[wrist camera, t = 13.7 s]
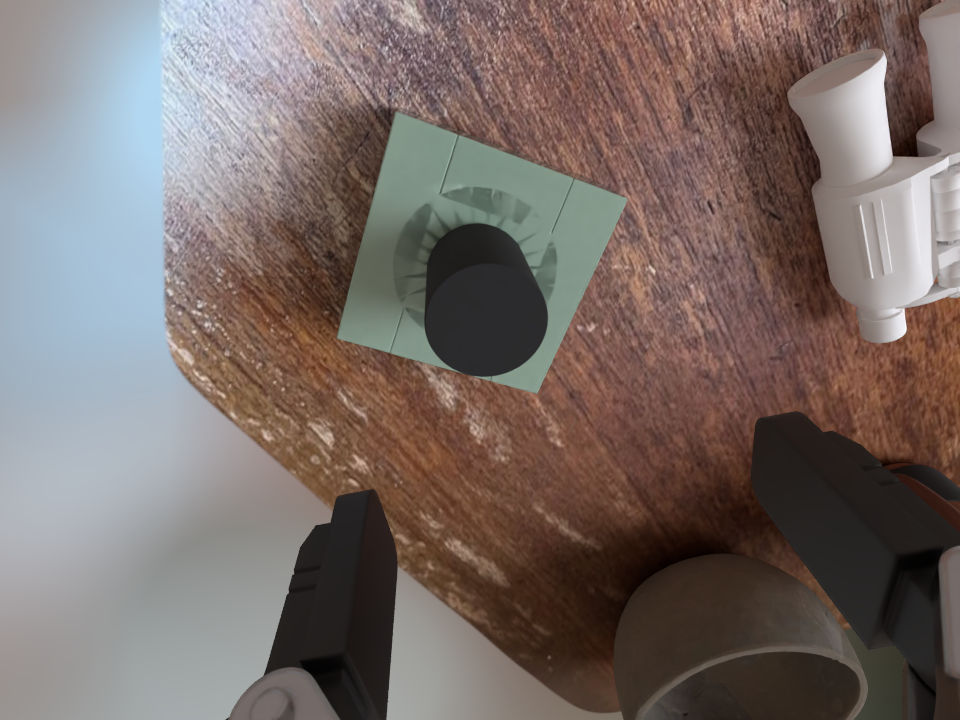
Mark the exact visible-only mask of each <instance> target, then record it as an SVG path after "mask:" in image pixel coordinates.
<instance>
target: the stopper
mask: <svg viewBox="0 0 960 720" xmlns="http://www.w3.org/2000/svg"><path fill="white" fill-rule="evenodd" d="M424 326H425V333H426V337H427V340H428V342H429V344H430V346H431V348H432V350H433V351H434V353H435V354H436V355H437V356H438V358H439V359H440V360H441V361H443V362H444V363H445V364H446V365H448V366H449V367H451V368H452V369H454V370H456V371H458V372H461V373H464V374H467V375H471V376H478V377H491V376H497V375H501V374H505V373H508V372H510V371H513V370H514V369H516V368H518V367H520V366H521V365H523V364H524V363H525V362H527V361H528V360H529V359H530V358H531V357H532V356H533V355H534V354H535V353H536V351H537V350H538V348H539V347H540V345H541V343H542V341H543V339H544V337H545V334H546V330H547V326H548V310H547V305H546V301H545V299H544V296H543V294H542V292H541V290H540V288H539V286H538V284H537V281H536V279H535V277H534V275H533V273H532V271H531V269H530V267H529V265H528V263H527V261H526V259H525V257H524V255H523V252H522V250H521V249H520V247H519V245H518V244H517V242H516V241H515V240H514V239H513V238H512V237H511V236H510V235H509V234H508V233H506V232H505V231H503V230H501V229H500V228H497V227H495V226H492V225H488V224H481V223H473V224H467V225H463V226H460V227H457V228H455V229H453V230H451V231H450V232H448V233H447V234H445V235H444V236H443V237H442V238H441V239H440V240H439V241H438V242H437V244H436V245H435V246H434V248H433V250H432V251H431V254H430V256H429V259H428V263H427V274H426V294H425V315H424Z"/></svg>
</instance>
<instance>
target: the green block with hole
mask: <svg viewBox="0 0 960 720" xmlns="http://www.w3.org/2000/svg"><path fill="white" fill-rule="evenodd" d="M626 202H627V198H626V197H624V196H623V195H621V194H620V193H618V192H617V191H615V190H614V189H612V188H611V187H608V186H605V185H603V184H600V183H597V182H595V181H592V180H590V179H587V178H584V177H582V176H579V175H576V174H574V173H571V172H568V171H566V170H562V169H560V168H558V167H555V166H552V165H550V164H547V163H545V162H542V161H539V160H537V159H534V158H531V157H529V156H526V155H523V154H521V153H518V152H515V151H513V150H510V149H508V148H505V147H502V146H500V145H497V144H494V143H492V142H489V141H486V140H484V139H481V138H479V137H476V136H473V135H471V134H468V133H465V132H463V131H460V130H456V129H455V128H452V127H449V126H447V125H444V124H441V123H439V122H436V121H434V120H431V119H428V118H426V117H423V116H420V115H418V114H415V113H412V112H410V111H407V110H405V109H402V108H399V109H398V110H397V111H396V112H395V114H394V118H393V122H392V126H391V130H390V133H389V137H388V141H387V145H386V149H385V153H384V156H383V160H382V164H381V168H380V172H379V176H378V179H377V183H376V187H375V191H374V195H373V199H372V202H371V206H370V210H369V214H368V218H367V222H366V226H365V229H364V233H363V237H362V241H361V245H360V249H359V252H358V256H357V260H356V264H355V268H354V272H353V275H352V279H351V283H350V287H349V291H348V295H347V299H346V302H345V306H344V310H343V314H342V318H341V322H340V325H339V329H338V333H337V339H341V340H344V341H348V342H351V343H355V344H359V345H362V346H366V347H370V348H373V349H377V350H380V351H384V352H388V353H389V352H390V353H391V354H394V355H398V356H401V357H405V358H409V359H412V360H416V361H419V362H423V363H427V364H430V365H434V366H438V367H441V368H445V369H449V370H452V371H456V370H454V369H452V368H451V367H449V366H448V365H446V364H445V363H444V362H443V361H441V360H440V359H439V358H438V356H437V355H436V354H435V353H434V351H433V350H432V348H431V346H430V344H429V342H428V340H427V337H426V333H425V326H424V315H425V294H426V274H427V263H428V259H429V256H430V254H431V251H432V250H433V248H434V246H435V245H436V244H437V242H438V241H439V240H440V239H441V238H442V237H443V236H444V235H445V234H447V233H448V232H450V231H451V230H453V229H455V228H457V227H460V226H463V225H467V224H473V223H481V224H488V225H492V226H495V227H497V228H500V229H501V230H503V231H505V232H506V233H508V234H509V235H510V236H511V237H512V238H513V239H514V240H515V241H516V242H517V244H518V245H519V247H520V249H521V250H522V252H523V255H524V257H525V259H526V261H527V263H528V265H529V267H530V269H531V271H532V273H533V275H534V277H535V279H536V281H537V284H538V286H539V288H540V290H541V292H542V294H543V296H544V299H545V301H546V305H547V310H548V326H547V330H546V334H545V337H544V339H543V341H542V343H541V345H540V347H539V348H538V350H537V351H536V353H535V354H534V355H533V356H532V357H531V358H530V359H529V360H528V361H527V362H525V363H524V364H523V365H521V366H520V367H518V368H516V369H514V370H513V371H510V372H508V373H505V374H501V375H497V376H491V377H478V376H474V377H478V378H481V379H485V380H489V381H492V382H496V383H500V384H503V385H507V386H510V387H514V388H518V389H521V390H525V391H529V392H532V393H536V394H537V393H538V391H539V388H540V386H541V384H542V382H543V380H544V378H545V376H546V373H547V371H548V369H549V367H550V365H551V363H552V361H553V358H554V356H555V354H556V352H557V350H558V348H559V346H560V343H561V341H562V339H563V337H564V335H565V333H566V331H567V328H568V326H569V324H570V322H571V320H572V318H573V316H574V313H575V311H576V309H577V307H578V305H579V303H580V301H581V298H582V296H583V294H584V292H585V290H586V288H587V285H588V283H589V281H590V279H591V277H592V275H593V273H594V270H595V268H596V266H597V264H598V262H599V260H600V258H601V255H602V253H603V251H604V249H605V247H606V245H607V243H608V240H609V238H610V236H611V234H612V232H613V230H614V228H615V225H616V223H617V221H618V219H619V217H620V215H621V213H622V210H623V208H624V206H625V204H626ZM456 372H458V371H456ZM459 373H461V372H459ZM463 374H464V373H463ZM470 376H471V375H470Z"/></svg>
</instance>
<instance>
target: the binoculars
mask: <svg viewBox="0 0 960 720" xmlns="http://www.w3.org/2000/svg"><path fill="white" fill-rule="evenodd" d="M919 30H920V32H921V35H922V37H923V39H924V41H925V43H926V45H927V53H928V61H929V70H930V78H931V88H932V99H933V111H934V120H933V121H931V122H929V123H928V124H926V125H925V126H923V127H922V128H921V129H920V130H919V131H918V132H917V134H916V141H917V151H918V157H895V156H893V154H892V147H891V140H890V133H889V126H888V119H887V110H886V100H885V91H884V79H885V74H886V66H887V59H886V56H885V53H884V51H883V50H881V49H867V50H863V51H859V52H855V53H852V54H849V55H846V56H843V57H841V58H838V59H836V60H834V61H831V62H829V63H827V64H825V65H823V66H821V67H819V68H817V69H816V70H814V71H812V72H810V73H809V74H807V75H806V76H804V77H803V78H801V79H800V80H799V81H797V82H796V83H795V84H794V85H793V86H792V87H791V88H790V89H789V90H788V93H787V95H788V101H789V105H790V106H791V108H792V109H793V110H794V112H795V113H796V114H797V115H798V116H799V117H800V118H801V121H802V123H803V125H804V127H805V130H806V132H807V134H808V137H809V139H810V141H811V143H812V146H813V148H814V150H815V152H816V154H817V156H818V158H819V160H820V171H821V178H820V179H819V180H818V181H817V182H815V184H814V185H813V186H812V189H811V191H812V196H813V201H814V205H815V210H816V215H817V220H818V224H819V229H820V234H821V238H822V243H823V248H824V253H825V257H826V262H827V267H828V272H829V276H830V281H831V283H832V285H833V286H834V288H835V289H836V291H837V292H838V293H839V295H840V296H841V297H842V298H843V299H845V300H846V301H848V302H850V303H851V304H853V305H854V306H856V307H857V310H856V316H857V319H858V323H859V328H860V334H861V336H862V338H863V339H865V340H867V341H869V342H873V343H886V342H891V341H894V340H897V339H899V338H901V337H902V336H903V335H904V334H905V333H906V330H907V327H906V320H905V309H904V308H908V307H914V306H918V305H922V304H927V303H931V302H933V301H936V300H939V299H942V298H944V297H947V296H948V297H950V298H958V297H960V0H945V1H943V2H941V3H939V4H937V5H935V6H933V7H931V8H929V9H927V10H926V11H924V12H923V13H922V14H921V15H920V16H919ZM936 276H937V278H938V282H937V283H934V281H935V278H936ZM933 283H934V284H933Z"/></svg>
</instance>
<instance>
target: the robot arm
mask: <svg viewBox="0 0 960 720" xmlns="http://www.w3.org/2000/svg"><path fill="white" fill-rule="evenodd" d="M751 482H752V487H753V490H754V493H755V495H756V498H757V500H758V501H759V503H760V505H761V506H762V508H763V509H764V510H765V512H766V513H767V514H768V516H769V517H770V518H771V520H772V521H773V522H774V524H775V525H776V526H777V528H778V529H779V530H780V532H781V533H782V534H783V536H784V537H785V538H786V540H787V541H788V542H789V544H790V545H791V546H792V548H793V549H794V551H795V552H796V553H797V555H798V556H799V557H800V559H801V560H802V561H803V563H804V564H805V565H806V567H807V568H808V569H809V571H810V572H811V573H812V575H813V576H814V577H815V579H816V580H817V581H818V583H819V584H820V585H821V587H822V588H823V589H824V591H825V592H826V593H827V595H828V596H829V598H830V599H831V600H832V602H833V603H834V604H835V606H836V607H837V608H838V610H839V611H840V612H841V614H842V615H843V616H844V618H845V619H846V620H847V622H848V623H849V624H850V626H851V627H852V628H853V630H854V631H855V632H856V634H857V635H858V636H859V638H860V639H861V640H862V642H863V643H864V645H865V646H866V647H867V649H868V650H871V649H877V648H882V647H887V646H894V645H895V646H896V647H897V649H898V650H899V651H900V652H901V654H902V655H903V656H904V657H905V662H904V664H903V670H902V686H903V687H902V693H903V694H902V705H903V707H902V710H903V711H902V713H903V715H902V717H903V719H902V720H960V532H958V531H957V530H956V529H955V528H954V527H953V526H952V525H951V524H949V523H948V522H947V521H946V520H945V519H944V518H943V517H942V516H940V515H939V514H938V513H937V512H936V511H935V510H934V509H933V508H931V507H930V506H929V505H928V504H927V503H926V502H925V501H923V500H922V499H921V498H920V497H919V496H918V495H917V494H916V493H914V492H913V491H912V490H911V489H910V488H909V487H908V486H907V485H905V484H904V483H900V482H899V478H898V477H896V476H895V475H894V474H893V473H892V472H891V471H890V470H888V469H887V468H886V467H882V465H881V462H879V461H878V460H877V459H876V458H875V457H874V456H873V455H872V454H870V453H869V452H868V451H867V450H866V449H865V448H864V447H863V446H861V445H860V444H858V443H856V442H854V441H852V440H850V439H848V438H846V437H844V436H842V435H840V434H838V433H836V432H834V431H828V432H822V431H821V430H820V429H819V428H818V427H817V426H816V425H815V424H814V423H813V422H812V421H811V420H810V419H809V418H808V417H807V416H805V415H804V414H803V413H801V412H798V411H795V412H789V413H784V414H779V415H773V416H768V417H762V418H759V419H758V420H757V422H756V425H755V433H754V444H753V455H752V467H751ZM396 582H397V553H396V547H395V543H394V539H393V536H392V533H391V531H390V528H389V525H388V522H387V519H386V517H385V514H384V511H383V508H382V505H381V503H380V500H379V497H378V495H377V493H376V491H375V490H374V489H371V490H366V491H360V492H355V493H350V494H344V495H339V496H338V497H337V499H336V502H335V506H334V510H333V514H332V519H331V523H327V524H322V525H316V526H315V528H314V529H313V530H312V532H311V533H310V534H309V536H308V537H307V539H306V540H305V542H304V543H303V544H302V546H301V547H300V550H299V554H298V557H297V561H296V564H295V568H294V575H292V579H291V583H290V586H289V594H287V596H286V600H285V604H284V607H283V611H282V614H281V618H280V622H279V625H278V629H277V632H276V636H275V639H274V643H273V646H272V650H271V654H270V657H269V661H268V664H267V668H266V670H265V673H264V676H263V677H261V678H260V679H259V680H257V681H256V682H255V683H254V684H252V685H251V686H250V687H249V688H248V689H247V690H246V692H244V694H243V695H242V696H241V697H240V699H239V700H238V702H237V703H236V705H235V706H234V708H233V710H232V712H231V714H230V717H229V718H227V719H226V720H386V717H387V703H388V690H389V676H390V663H391V649H392V636H393V623H394V610H395V595H396Z"/></svg>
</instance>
